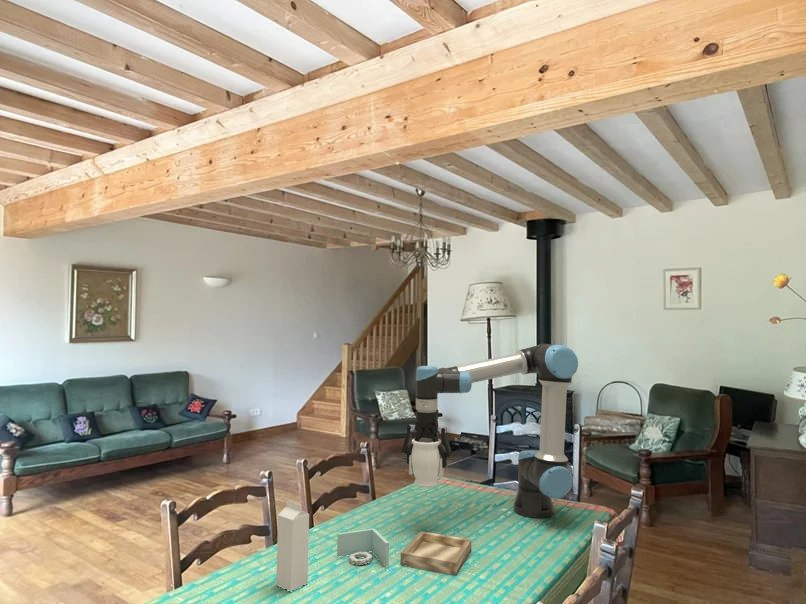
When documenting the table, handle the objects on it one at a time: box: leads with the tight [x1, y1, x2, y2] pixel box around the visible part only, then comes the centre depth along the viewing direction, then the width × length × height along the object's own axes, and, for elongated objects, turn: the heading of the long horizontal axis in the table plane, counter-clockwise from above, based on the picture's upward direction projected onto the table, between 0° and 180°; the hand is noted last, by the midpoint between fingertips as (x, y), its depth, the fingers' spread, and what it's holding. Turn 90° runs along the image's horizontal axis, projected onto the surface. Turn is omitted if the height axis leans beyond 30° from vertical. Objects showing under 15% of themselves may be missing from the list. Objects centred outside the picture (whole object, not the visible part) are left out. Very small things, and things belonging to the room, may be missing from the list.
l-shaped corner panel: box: [336, 527, 390, 568], centre depth 158 cm, size 12×12×8 cm
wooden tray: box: [400, 530, 472, 576], centre depth 161 cm, size 17×18×4 cm
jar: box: [411, 438, 442, 488], centre depth 183 cm, size 11×10×15 cm
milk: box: [275, 500, 310, 591], centre depth 143 cm, size 6×6×22 cm
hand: (426, 475), depth 183 cm, fingers closed on jar, 10 cm apart
